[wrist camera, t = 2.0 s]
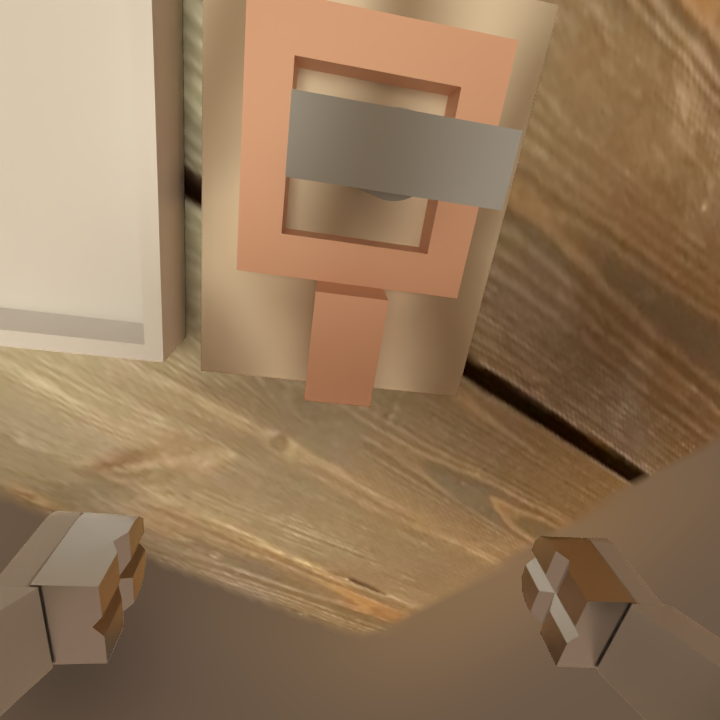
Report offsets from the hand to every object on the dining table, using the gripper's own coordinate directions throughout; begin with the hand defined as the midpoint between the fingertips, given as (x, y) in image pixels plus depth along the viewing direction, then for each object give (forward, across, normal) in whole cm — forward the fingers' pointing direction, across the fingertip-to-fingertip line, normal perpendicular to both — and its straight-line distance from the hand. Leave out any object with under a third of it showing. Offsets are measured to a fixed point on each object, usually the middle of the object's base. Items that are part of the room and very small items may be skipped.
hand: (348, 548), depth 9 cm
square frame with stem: (+14, -1, -5) cm, 15 cm away
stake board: (+16, 0, -6) cm, 17 cm away
